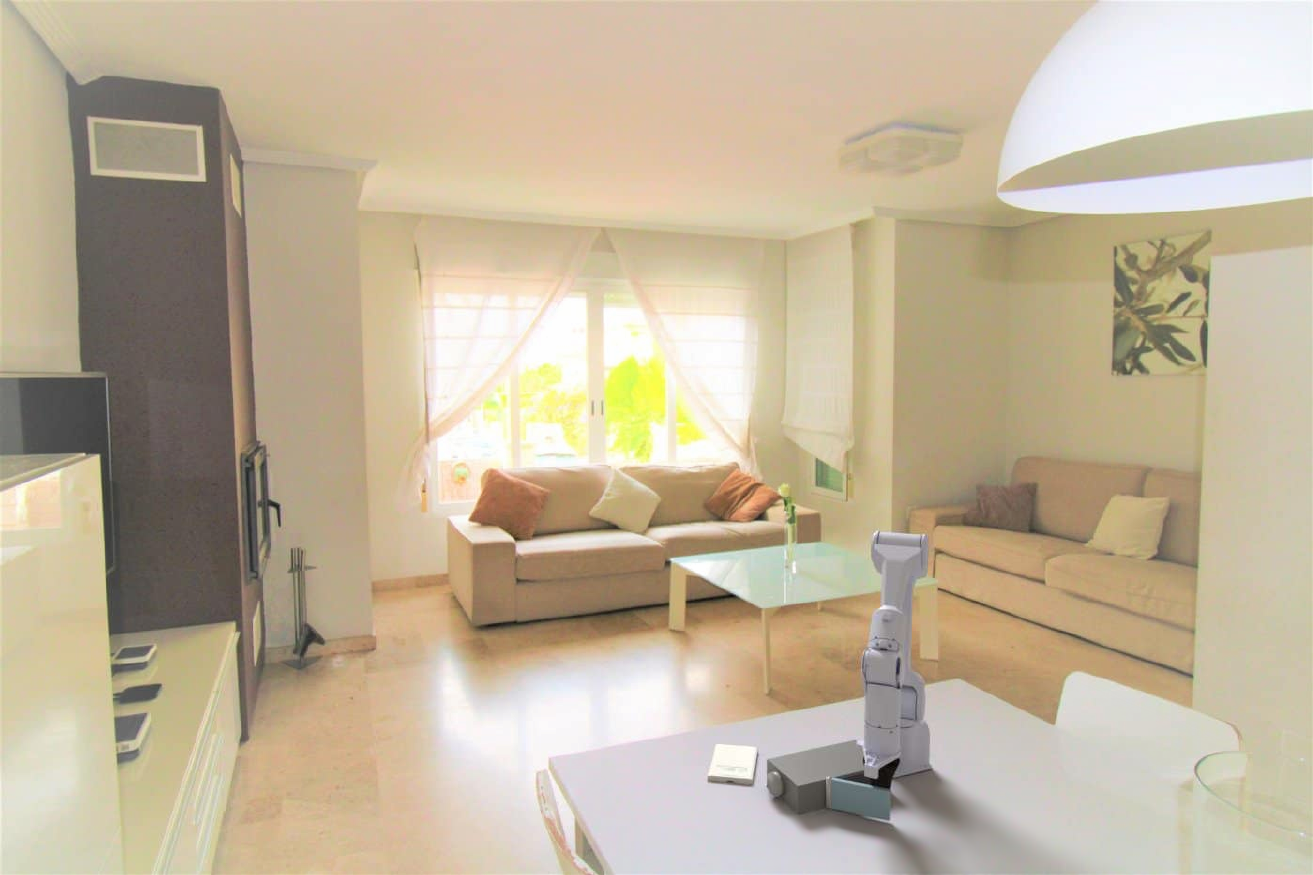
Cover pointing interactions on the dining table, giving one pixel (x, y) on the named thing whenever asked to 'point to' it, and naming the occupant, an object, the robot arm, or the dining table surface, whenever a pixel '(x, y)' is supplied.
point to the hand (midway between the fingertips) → (880, 800)
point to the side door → (858, 798)
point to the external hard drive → (733, 764)
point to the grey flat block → (814, 774)
